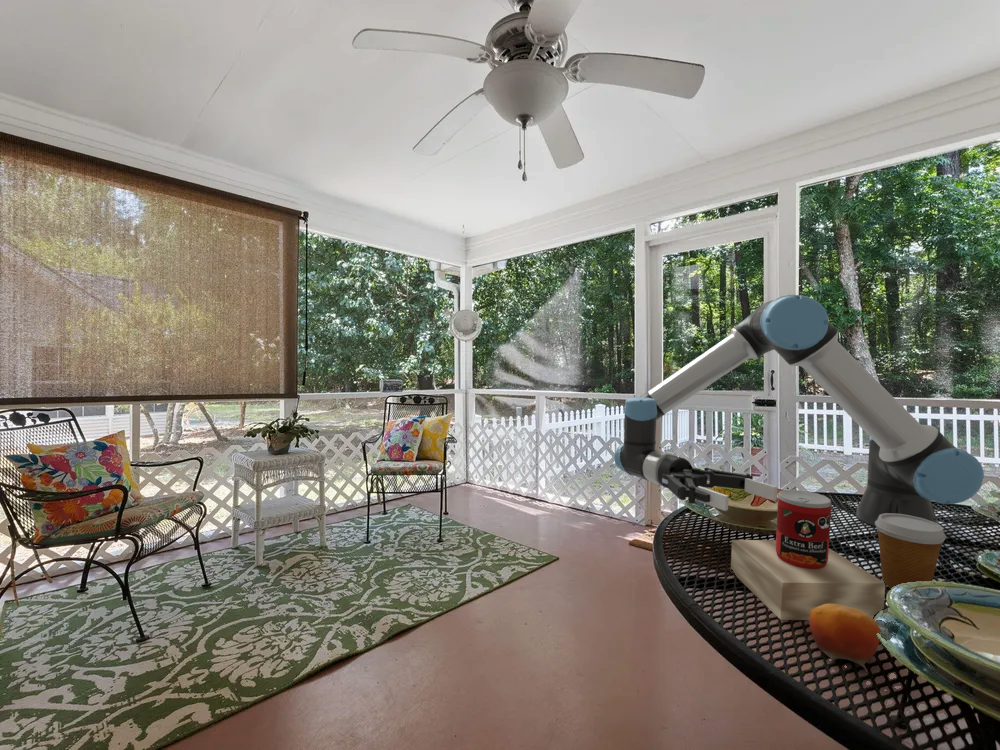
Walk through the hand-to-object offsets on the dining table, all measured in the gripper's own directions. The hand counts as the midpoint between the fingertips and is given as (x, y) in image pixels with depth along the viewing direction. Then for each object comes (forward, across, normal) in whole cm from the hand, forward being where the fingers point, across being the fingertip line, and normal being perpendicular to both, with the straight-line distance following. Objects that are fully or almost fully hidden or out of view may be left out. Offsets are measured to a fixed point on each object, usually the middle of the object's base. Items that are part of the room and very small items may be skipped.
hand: (752, 498), depth 90 cm
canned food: (+10, 0, -8) cm, 12 cm away
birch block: (+10, 0, -14) cm, 17 cm away
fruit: (+22, +10, -14) cm, 28 cm away
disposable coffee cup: (+16, -19, -14) cm, 29 cm away
